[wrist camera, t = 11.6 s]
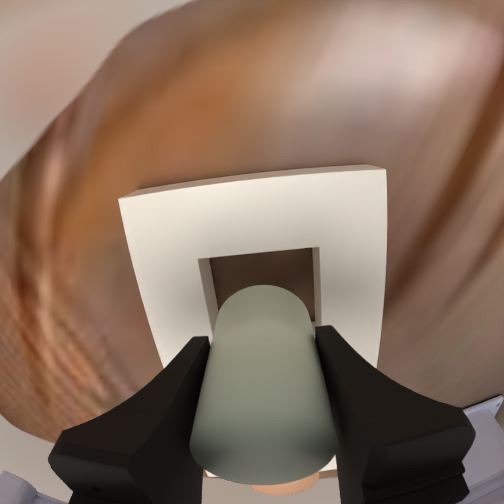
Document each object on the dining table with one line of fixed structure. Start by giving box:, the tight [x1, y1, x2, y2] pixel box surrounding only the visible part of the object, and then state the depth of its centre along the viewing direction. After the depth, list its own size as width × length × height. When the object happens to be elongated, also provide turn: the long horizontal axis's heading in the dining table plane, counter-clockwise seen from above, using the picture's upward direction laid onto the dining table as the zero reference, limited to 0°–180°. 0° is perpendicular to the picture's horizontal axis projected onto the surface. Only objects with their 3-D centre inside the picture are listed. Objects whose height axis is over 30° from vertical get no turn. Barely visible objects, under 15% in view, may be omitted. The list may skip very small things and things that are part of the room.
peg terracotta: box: [251, 471, 319, 495], centre depth 18 cm, size 4×4×6 cm
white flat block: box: [118, 164, 387, 477], centre depth 18 cm, size 22×12×2 cm, turn 7°
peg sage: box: [189, 285, 338, 485], centre depth 10 cm, size 4×4×6 cm
